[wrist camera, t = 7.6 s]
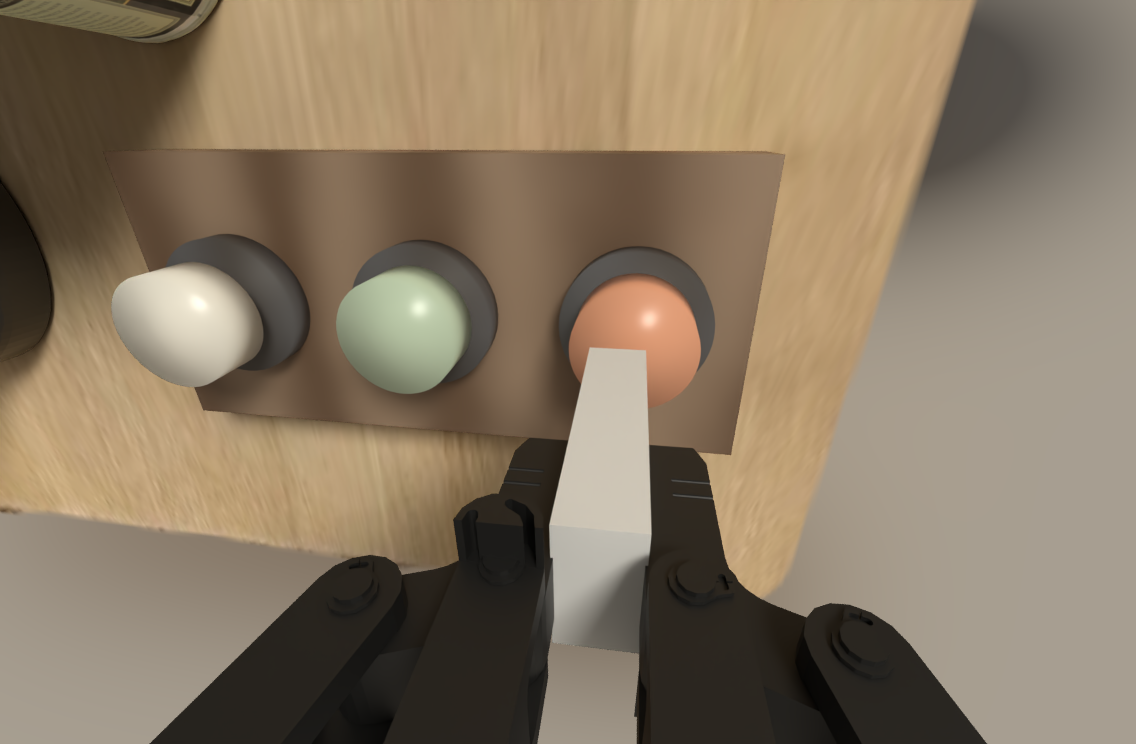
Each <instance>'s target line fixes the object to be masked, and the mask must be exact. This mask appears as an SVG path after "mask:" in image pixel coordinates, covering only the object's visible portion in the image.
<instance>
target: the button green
mask: <svg viewBox="0 0 1136 744" xmlns="http://www.w3.org/2000/svg"><path fill="white" fill-rule="evenodd" d="M336 330H337V336H338V340H339V343H340V346H341V348H342V350H343V352H344V354H345V356H346V358H347V359H348V361H349V362H350V363H351V365H352V366H353V367H354V368H355V369H356V371H358V372H359V373H360V374H361V375H362V376H363V377H364V378H366V379H367V380H368V381H370V382H371V383H373V384H374V385H376V386H378V387H380V388H382V389H385V390H388V391H391V392H395V393H402V394H414V393H420V392H424V391H427V390H429V389H431V388H433V387H434V386H436V385H437V384H438V383H440V382H441V381H442V380H443V378H444V377H445V376H446V375H447V374H448V373H449V371H450V370H451V369H452V368H453V367H454V365H455V364H456V363H457V362H458V361H459V359H460V358H461V357H462V356H463V355H464V353H465V352H466V350H467V348H468V346H469V343H470V339H471V334H472V323H471V317H470V313H469V310H468V307H467V305H466V303H465V301H464V299H463V298H462V296H461V294H460V293H459V292H458V290H457V289H456V288H455V287H454V286H453V285H452V284H451V283H450V282H449V281H448V280H446V279H445V278H444V277H442V276H441V275H439V274H437V273H435V272H434V271H432V270H429V269H426V268H423V267H419V266H411V265H406V266H398V267H394V268H391V269H389V270H387V271H385V272H383V273H381V274H379V275H377V276H375V277H373V278H371V279H369V280H368V281H366V282H364V283H362V284H360V285H358V286H356V287H355V288H353V289H352V290H351V291H349V293H348V294H347V295H346V296H345V297H344V299H343V300H342V302H341V304H340V306H339V309H338V313H337V319H336Z"/></svg>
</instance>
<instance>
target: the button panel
mask: <svg viewBox="0 0 1136 744" xmlns="http://www.w3.org/2000/svg"><path fill="white" fill-rule="evenodd" d="M103 153H104V156H105V158H106V161H107V164H108V166H109V169H110V171H111V174H112V176H113V179H114V182H115V184H116V187H117V189H118V192H119V194H120V197H121V200H122V202H123V205H124V207H125V210H126V212H127V215H128V218H129V220H130V223H131V225H132V228H133V230H134V233H135V236H136V238H137V241H138V243H139V246H140V248H141V251H142V254H143V256H144V259H145V261H146V264H147V266H148V269H149V272H152V271H155V270H159V269H163V268H166V267H170V266H173V265H177V264H181V263H185V262H198V263H203V264H207V265H210V266H213V267H215V268H217V269H219V270H221V271H223V272H224V273H226V274H228V275H229V276H230V277H232V278H233V279H234V280H235V281H236V282H237V283H239V284H240V285H241V286H242V288H243V289H244V290H245V291H246V292H247V293H248V295H249V296H250V297H251V299H252V300H253V302H254V304H255V305H256V307H257V310H258V312H259V314H260V317H261V320H262V325H263V342H262V346H261V348H260V350H259V352H258V354H257V355H256V356H255V357H254V358H253V359H251V360H250V361H248V362H247V363H245V364H243V365H241V366H240V367H238V368H236V369H234V370H232V371H231V372H229V373H227V374H225V375H224V376H222V377H220V378H218V379H217V380H215V381H213V382H211V383H209V384H207V385H204V386H200V387H195V390H196V392H197V395H198V398H199V400H200V403H201V405H202V408H203V410H207V411H219V412H231V413H243V414H255V415H266V416H278V417H290V418H302V419H313V420H325V421H337V422H349V423H360V424H372V425H384V426H396V427H408V428H419V429H431V430H443V431H455V432H466V433H478V434H490V435H502V436H514V437H525V438H543V439H557V440H569V436H570V432H571V428H572V423H573V419H574V414H575V410H576V406H577V401H578V397H579V393H580V388H581V383H580V382H579V380H578V379H577V377H576V375H575V373H574V372H573V369H572V366H571V363H570V358H569V341H570V336H571V332H572V330H573V327H574V324H575V322H576V319H577V317H578V314H579V311H580V309H581V307H582V305H583V303H584V301H585V300H586V298H587V297H588V295H589V294H590V293H591V292H592V291H593V290H594V289H595V288H596V287H598V286H599V285H600V284H602V283H603V282H605V281H607V280H609V279H611V278H613V277H616V276H620V275H624V274H630V273H641V274H649V275H653V276H656V277H659V278H662V279H664V280H666V281H667V282H669V283H671V284H672V285H674V286H675V287H676V288H677V289H678V290H679V291H680V292H681V293H682V294H683V295H684V296H685V298H686V299H687V301H688V302H689V304H690V306H691V308H692V311H693V314H694V318H695V322H696V326H697V330H698V334H699V338H700V344H701V356H700V362H699V366H698V368H697V371H696V373H695V375H694V377H693V379H692V381H691V382H690V383H689V385H688V386H687V387H686V388H685V389H684V390H683V391H682V392H681V393H680V394H679V395H677V396H676V397H675V398H673V399H672V400H670V401H668V402H666V403H664V404H662V405H659V406H656V407H652V408H648V433H649V445H659V446H672V447H685V448H694V450H695V451H696V452H702V453H714V454H725V455H731V452H732V446H733V440H734V435H735V429H736V424H737V418H738V413H739V407H740V402H741V396H742V391H743V385H744V380H745V374H746V369H747V363H748V358H749V352H750V346H751V341H752V335H753V330H754V324H755V319H756V313H757V308H758V302H759V297H760V291H761V286H762V280H763V275H764V269H765V264H766V258H767V252H768V247H769V241H770V236H771V230H772V225H773V219H774V214H775V208H776V203H777V197H778V192H779V186H780V181H781V175H782V170H783V164H784V158H785V154H778V153H772V152H755V151H496V150H237V149H161V150H131V151H103ZM406 265H411V266H419V267H423V268H426V269H429V270H432V271H434V272H435V273H437V274H439V275H441V276H442V277H444V278H445V279H446V280H448V281H449V282H450V283H451V284H452V285H453V286H454V287H455V288H456V289H457V290H458V292H459V293H460V294H461V296H462V298H463V299H464V301H465V303H466V305H467V307H468V310H469V313H470V317H471V323H472V334H471V339H470V343H469V346H468V348H467V350H466V352H465V353H464V355H463V356H462V357H461V358H460V359H459V361H458V362H457V363H456V364H455V365H454V367H453V368H452V369H451V370H450V371H449V373H448V374H447V375H446V376H445V377H444V378H443V380H442V381H441V382H440V383H438V384H437V385H436V386H434V387H433V388H431V389H429V390H427V391H424V392H420V393H414V394H402V393H395V392H391V391H388V390H385V389H382V388H380V387H378V386H376V385H374V384H373V383H371V382H370V381H368V380H367V379H366V378H364V377H363V376H362V375H361V374H360V373H359V372H358V371H356V369H355V368H354V367H353V366H352V365H351V363H350V362H349V361H348V359H347V358H346V356H345V354H344V352H343V350H342V348H341V346H340V343H339V340H338V336H337V330H336V319H337V313H338V309H339V306H340V304H341V302H342V300H343V299H344V297H345V296H346V295H347V294H348V293H349V291H351V290H352V289H353V288H355V287H356V286H358V285H360V284H362V283H364V282H366V281H368V280H369V279H371V278H373V277H375V276H377V275H379V274H381V273H383V272H385V271H387V270H389V269H391V268H394V267H398V266H406Z"/></svg>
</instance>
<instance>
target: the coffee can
mask: <svg viewBox="0 0 1136 744" xmlns="http://www.w3.org/2000/svg"><path fill="white" fill-rule="evenodd" d="M217 2H218V0H0V15H5V16H10V17H16V18H21V19H27V20H32V21H38V22H44V23H49V24H55V25H61V26H66V27H72V28H77V29H82V30H88V31H94V32H99V33H105V34H110V35H115V36H117V37H120V38H124V39H127V40H132V41H136V42H144V43H164V42H167V41H169V40H174V39H177V38H180V37H182V36H184V35H186V34H188V33H190V32H192V31H193V30H194V29H196V28H197V27H198V26H199V25H200V24H201V23H202V22H203V21H204V20H205V19H206V18H207V17H208V16H209V14H210V13H211V12H212V10H213V9H214V7H215V5H216V4H217Z"/></svg>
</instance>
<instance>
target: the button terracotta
mask: <svg viewBox="0 0 1136 744" xmlns="http://www.w3.org/2000/svg"><path fill="white" fill-rule="evenodd" d="M590 347H591V348H611V349H630V350H646V364H647V398H648V408H652V407H656V406H659V405H662V404H664V403H666V402H668V401H670V400H672V399H673V398H675V397H676V396H677V395H679V394H680V393H681V392H682V391H683V390H684V389H685V388H686V387H687V386H688V385H689V383H690V382H691V381H692V379H693V377H694V375H695V373H696V371H697V368H698V366H699V362H700V356H701V344H700V338H699V334H698V330H697V326H696V322H695V318H694V314H693V311H692V308H691V306H690V304H689V302H688V301H687V299H686V298H685V296H684V295H683V294H682V293H681V292H680V291H679V290H678V289H677V288H676V287H675V286H674V285H672V284H671V283H669V282H667V281H666V280H664V279H662V278H659V277H656V276H653V275H649V274H641V273H630V274H624V275H620V276H616V277H613V278H611V279H609V280H607V281H605V282H603V283H602V284H600V285H599V286H598V287H596V288H595V289H594V290H593V291H592V292H591V293H590V294H589V295H588V297H587V298H586V300H585V301H584V303H583V305H582V307H581V309H580V311H579V314H578V317H577V319H576V322H575V324H574V327H573V330H572V332H571V336H570V341H569V358H570V363H571V366H572V369H573V372H574V373H575V375H576V377H577V379H578V380H579V382H580V383H581V384H582V379H583V375H584V371H585V366H586V362H587V357H588V353H589V349H590Z"/></svg>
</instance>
